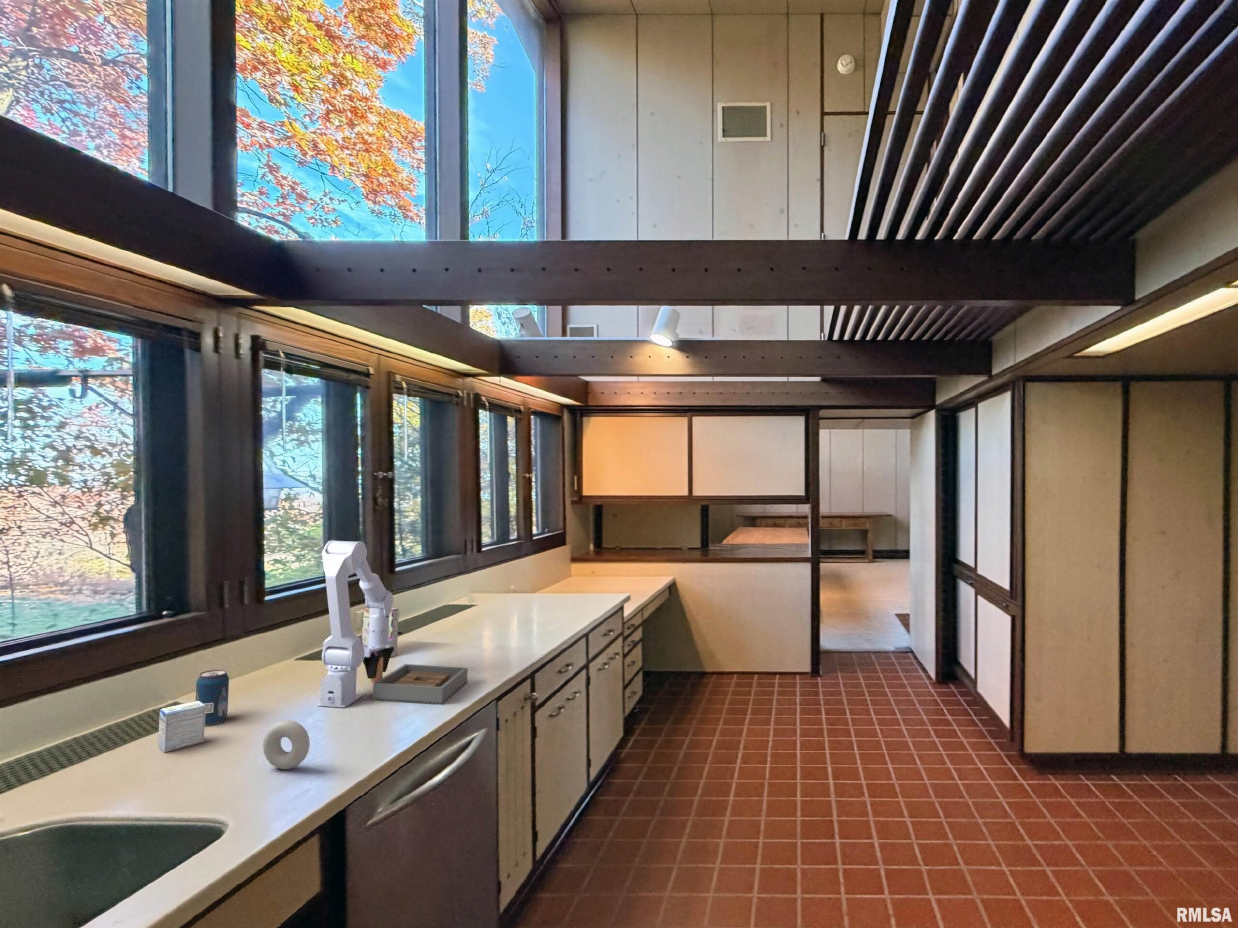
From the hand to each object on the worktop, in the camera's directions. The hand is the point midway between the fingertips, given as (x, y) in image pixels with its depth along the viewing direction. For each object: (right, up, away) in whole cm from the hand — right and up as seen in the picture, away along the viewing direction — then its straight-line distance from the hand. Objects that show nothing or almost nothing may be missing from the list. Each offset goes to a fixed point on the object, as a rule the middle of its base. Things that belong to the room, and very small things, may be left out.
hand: (377, 674), depth 195 cm
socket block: (+16, -2, -8) cm, 18 cm away
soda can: (-28, 0, -35) cm, 45 cm away
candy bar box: (-10, -3, +28) cm, 30 cm away
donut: (+3, 0, -60) cm, 60 cm away
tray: (+16, -2, -8) cm, 18 cm away
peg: (0, -2, 0) cm, 2 cm away
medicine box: (-26, 0, -49) cm, 56 cm away
